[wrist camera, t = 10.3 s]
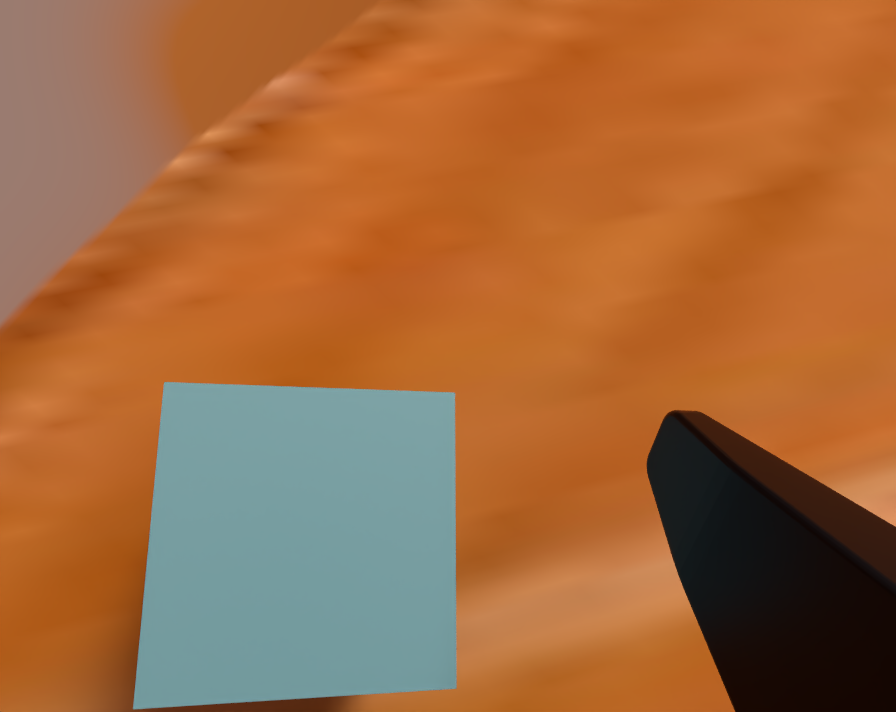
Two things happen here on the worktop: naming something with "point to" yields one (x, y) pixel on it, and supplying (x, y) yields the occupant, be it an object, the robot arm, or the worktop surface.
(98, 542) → the worktop surface
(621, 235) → the worktop surface
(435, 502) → the pale teal block
